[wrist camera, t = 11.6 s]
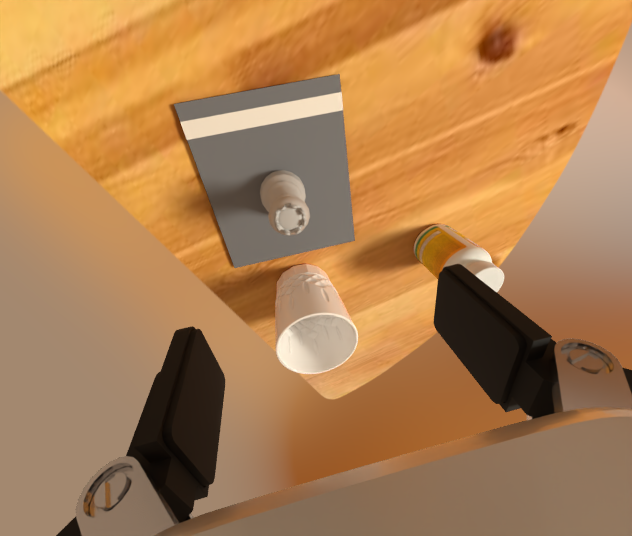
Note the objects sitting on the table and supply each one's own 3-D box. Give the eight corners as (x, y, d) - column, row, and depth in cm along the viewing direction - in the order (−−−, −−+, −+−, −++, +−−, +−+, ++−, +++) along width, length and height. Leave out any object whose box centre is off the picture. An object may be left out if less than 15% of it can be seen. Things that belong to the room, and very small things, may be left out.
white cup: (257, 291, 34) (257, 354, 25) (301, 246, 32) (318, 298, 23) (304, 320, 37) (317, 384, 29) (346, 282, 35) (374, 338, 27)
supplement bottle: (457, 221, 34) (520, 258, 26) (446, 259, 36) (500, 304, 28) (416, 224, 33) (468, 263, 25) (408, 263, 36) (453, 310, 27)
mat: (175, 104, 23) (173, 104, 22) (338, 74, 24) (339, 73, 23) (234, 266, 31) (234, 268, 31) (353, 239, 32) (354, 241, 32)
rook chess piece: (270, 219, 29) (274, 255, 22) (252, 178, 26) (250, 204, 20) (310, 204, 29) (326, 235, 22) (295, 162, 26) (308, 182, 20)
